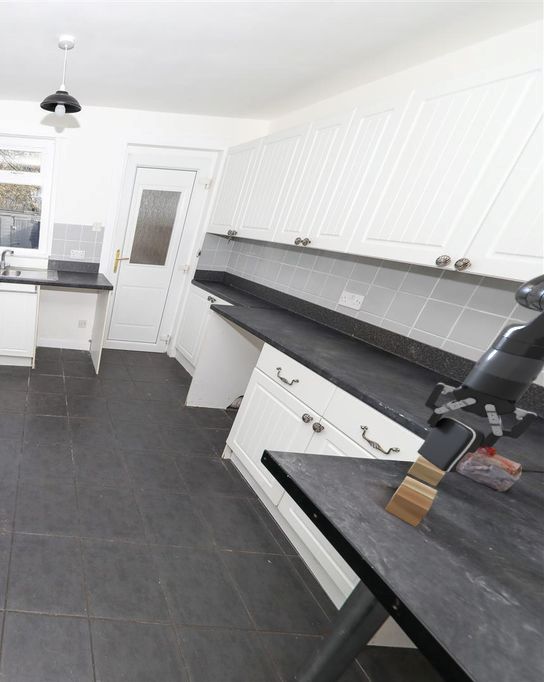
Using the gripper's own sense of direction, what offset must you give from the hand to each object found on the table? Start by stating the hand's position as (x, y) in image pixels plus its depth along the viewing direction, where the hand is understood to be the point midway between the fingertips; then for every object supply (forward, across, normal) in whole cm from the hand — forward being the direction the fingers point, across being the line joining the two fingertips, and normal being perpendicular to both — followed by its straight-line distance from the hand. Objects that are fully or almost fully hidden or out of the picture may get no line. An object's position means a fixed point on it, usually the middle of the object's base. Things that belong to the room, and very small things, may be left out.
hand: (455, 436), depth 75 cm
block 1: (+17, 0, -7) cm, 18 cm away
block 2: (+17, 0, +8) cm, 18 cm away
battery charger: (+8, 0, 0) cm, 8 cm away
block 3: (+17, 0, +14) cm, 22 cm away
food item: (+17, -6, -22) cm, 29 cm away
